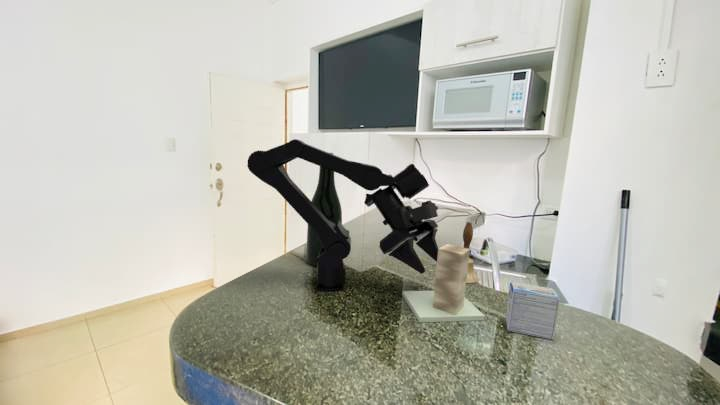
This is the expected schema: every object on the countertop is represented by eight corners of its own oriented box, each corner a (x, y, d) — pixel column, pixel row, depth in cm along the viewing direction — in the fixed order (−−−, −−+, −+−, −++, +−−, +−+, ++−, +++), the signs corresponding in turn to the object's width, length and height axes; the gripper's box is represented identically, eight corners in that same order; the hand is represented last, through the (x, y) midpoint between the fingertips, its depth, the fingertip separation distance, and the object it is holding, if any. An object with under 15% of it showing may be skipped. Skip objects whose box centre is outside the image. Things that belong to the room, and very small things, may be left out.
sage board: (419, 322, 59) (419, 317, 59) (402, 295, 71) (402, 291, 71) (484, 320, 61) (484, 315, 61) (456, 294, 73) (457, 290, 73)
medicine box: (547, 329, 59) (554, 288, 58) (554, 341, 55) (561, 297, 54) (504, 320, 62) (509, 280, 61) (507, 331, 58) (513, 289, 57)
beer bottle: (340, 256, 96) (345, 153, 91) (340, 268, 86) (346, 153, 81) (308, 255, 95) (311, 151, 91) (304, 267, 85) (307, 151, 80)
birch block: (432, 307, 64) (438, 248, 62) (441, 299, 68) (446, 244, 66) (455, 315, 61) (462, 254, 59) (463, 306, 65) (469, 249, 63)
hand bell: (443, 272, 87) (448, 219, 85) (468, 272, 89) (474, 219, 87) (457, 284, 79) (463, 226, 77) (485, 283, 81) (492, 226, 79)
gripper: (396, 191, 59) (444, 258, 54) (434, 187, 74) (474, 239, 69) (361, 222, 65) (402, 286, 60) (403, 213, 79) (438, 263, 74)
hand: (432, 267), depth 65 cm, fingers open, 9 cm apart
